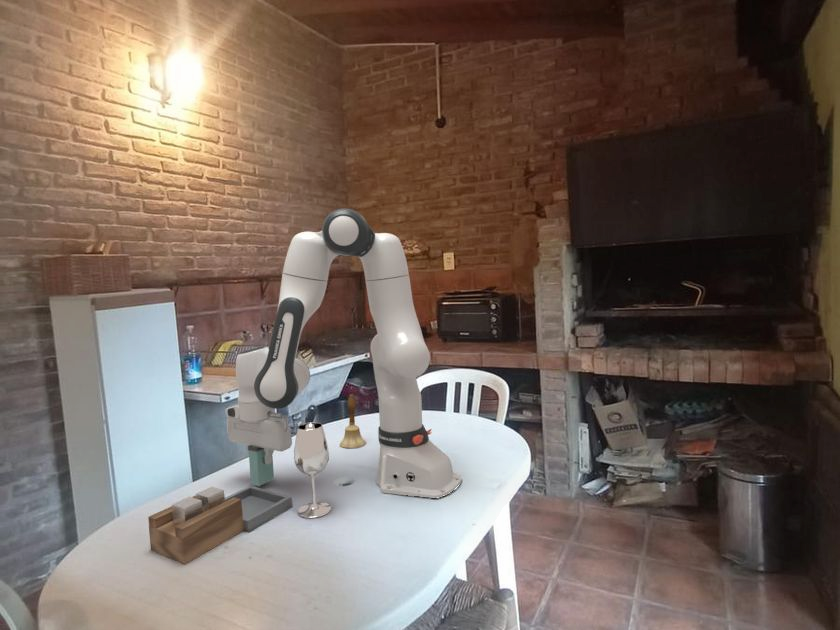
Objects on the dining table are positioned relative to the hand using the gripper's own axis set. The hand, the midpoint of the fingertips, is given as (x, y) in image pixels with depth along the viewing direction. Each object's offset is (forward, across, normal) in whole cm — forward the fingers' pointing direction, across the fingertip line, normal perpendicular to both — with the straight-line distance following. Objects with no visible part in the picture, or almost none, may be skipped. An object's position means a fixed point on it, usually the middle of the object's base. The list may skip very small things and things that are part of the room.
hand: (261, 462), depth 132 cm
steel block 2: (+1, -9, +22) cm, 24 cm away
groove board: (+6, -9, +25) cm, 28 cm away
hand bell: (+7, -1, -36) cm, 36 cm away
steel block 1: (+1, -9, +27) cm, 29 cm away
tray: (+6, -9, +12) cm, 16 cm away
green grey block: (+5, 0, 0) cm, 5 cm away
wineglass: (+7, -22, +4) cm, 23 cm away
